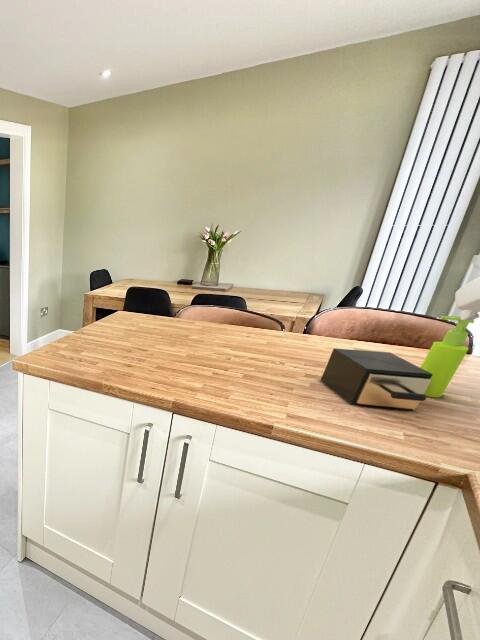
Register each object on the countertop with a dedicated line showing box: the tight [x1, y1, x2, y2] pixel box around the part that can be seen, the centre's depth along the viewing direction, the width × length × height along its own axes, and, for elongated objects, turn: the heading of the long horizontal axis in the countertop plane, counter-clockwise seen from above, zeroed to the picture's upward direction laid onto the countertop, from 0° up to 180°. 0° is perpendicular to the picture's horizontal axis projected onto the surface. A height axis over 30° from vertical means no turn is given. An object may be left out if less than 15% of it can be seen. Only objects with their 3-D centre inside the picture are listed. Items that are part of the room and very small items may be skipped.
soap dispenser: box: [419, 315, 475, 398], centre depth 100 cm, size 6×7×20 cm
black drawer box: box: [320, 347, 433, 412], centre depth 101 cm, size 15×13×10 cm
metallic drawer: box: [355, 372, 431, 410], centre depth 97 cm, size 18×11×8 cm, turn 165°
